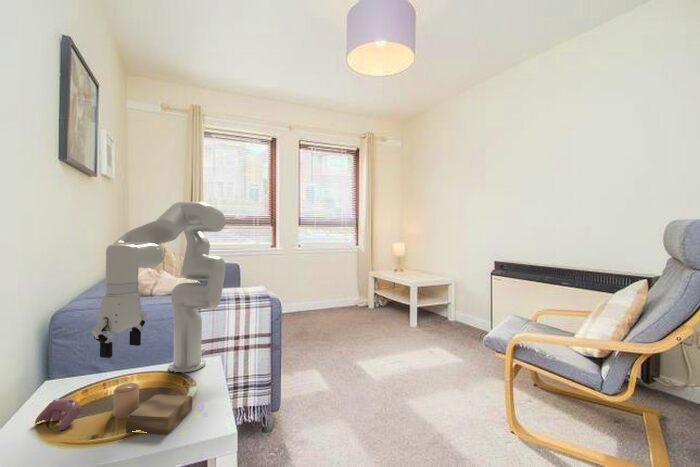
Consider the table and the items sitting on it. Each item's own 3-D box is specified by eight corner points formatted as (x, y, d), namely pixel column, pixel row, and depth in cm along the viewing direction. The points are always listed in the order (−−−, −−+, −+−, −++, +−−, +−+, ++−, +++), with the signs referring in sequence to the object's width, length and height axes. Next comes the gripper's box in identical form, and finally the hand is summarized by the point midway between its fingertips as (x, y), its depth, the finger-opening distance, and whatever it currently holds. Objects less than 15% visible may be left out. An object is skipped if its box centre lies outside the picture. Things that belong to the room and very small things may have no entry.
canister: (123, 406, 100) (123, 381, 100) (143, 407, 100) (143, 382, 100) (108, 418, 94) (108, 391, 94) (129, 419, 94) (129, 392, 94)
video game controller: (76, 430, 91) (88, 401, 94) (59, 431, 87) (72, 400, 90) (48, 424, 94) (61, 396, 97) (31, 424, 90) (45, 395, 93)
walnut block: (155, 408, 100) (155, 393, 100) (192, 409, 99) (192, 395, 99) (126, 432, 88) (126, 416, 88) (167, 434, 87) (168, 418, 87)
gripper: (134, 283, 104) (133, 340, 104) (81, 293, 87) (80, 361, 87) (156, 284, 102) (156, 342, 103) (106, 295, 85) (105, 363, 86)
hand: (121, 350), depth 95 cm, fingers open, 9 cm apart
